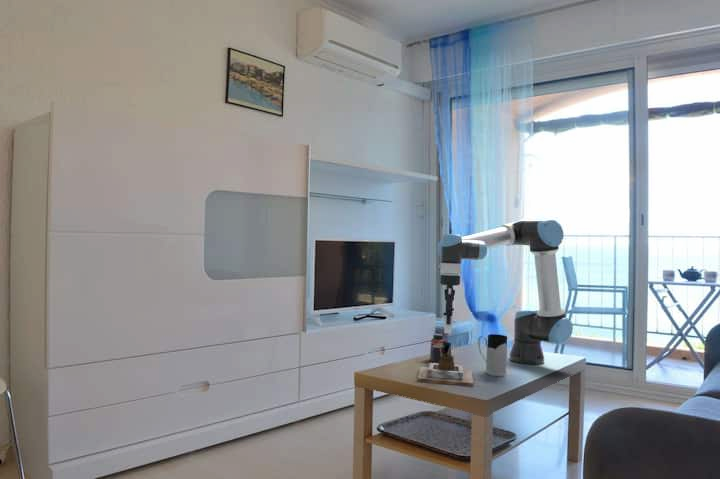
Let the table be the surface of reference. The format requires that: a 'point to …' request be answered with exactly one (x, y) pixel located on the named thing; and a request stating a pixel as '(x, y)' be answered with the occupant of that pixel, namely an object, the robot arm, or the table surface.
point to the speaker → (444, 350)
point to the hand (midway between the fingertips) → (448, 330)
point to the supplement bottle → (436, 342)
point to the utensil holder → (446, 361)
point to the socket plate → (445, 375)
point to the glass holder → (495, 354)
